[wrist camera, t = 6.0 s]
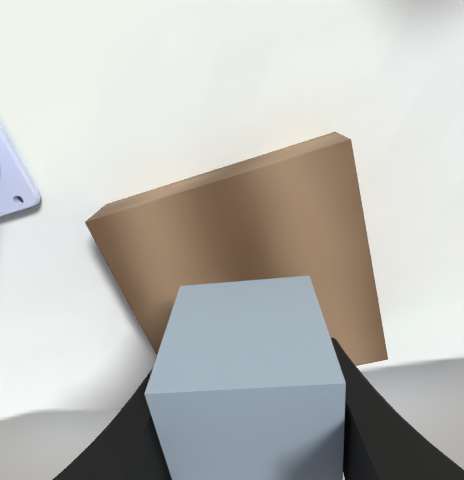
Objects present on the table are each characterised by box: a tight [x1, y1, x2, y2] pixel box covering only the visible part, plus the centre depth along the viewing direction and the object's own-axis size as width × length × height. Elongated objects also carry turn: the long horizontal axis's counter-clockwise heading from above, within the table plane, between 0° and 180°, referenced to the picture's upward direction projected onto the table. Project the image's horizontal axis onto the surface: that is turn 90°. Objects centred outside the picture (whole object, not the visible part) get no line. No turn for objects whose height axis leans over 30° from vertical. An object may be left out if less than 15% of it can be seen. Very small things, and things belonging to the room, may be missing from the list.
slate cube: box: [145, 276, 346, 480], centre depth 11 cm, size 5×5×5 cm
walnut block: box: [85, 132, 388, 366], centre depth 18 cm, size 12×12×3 cm
